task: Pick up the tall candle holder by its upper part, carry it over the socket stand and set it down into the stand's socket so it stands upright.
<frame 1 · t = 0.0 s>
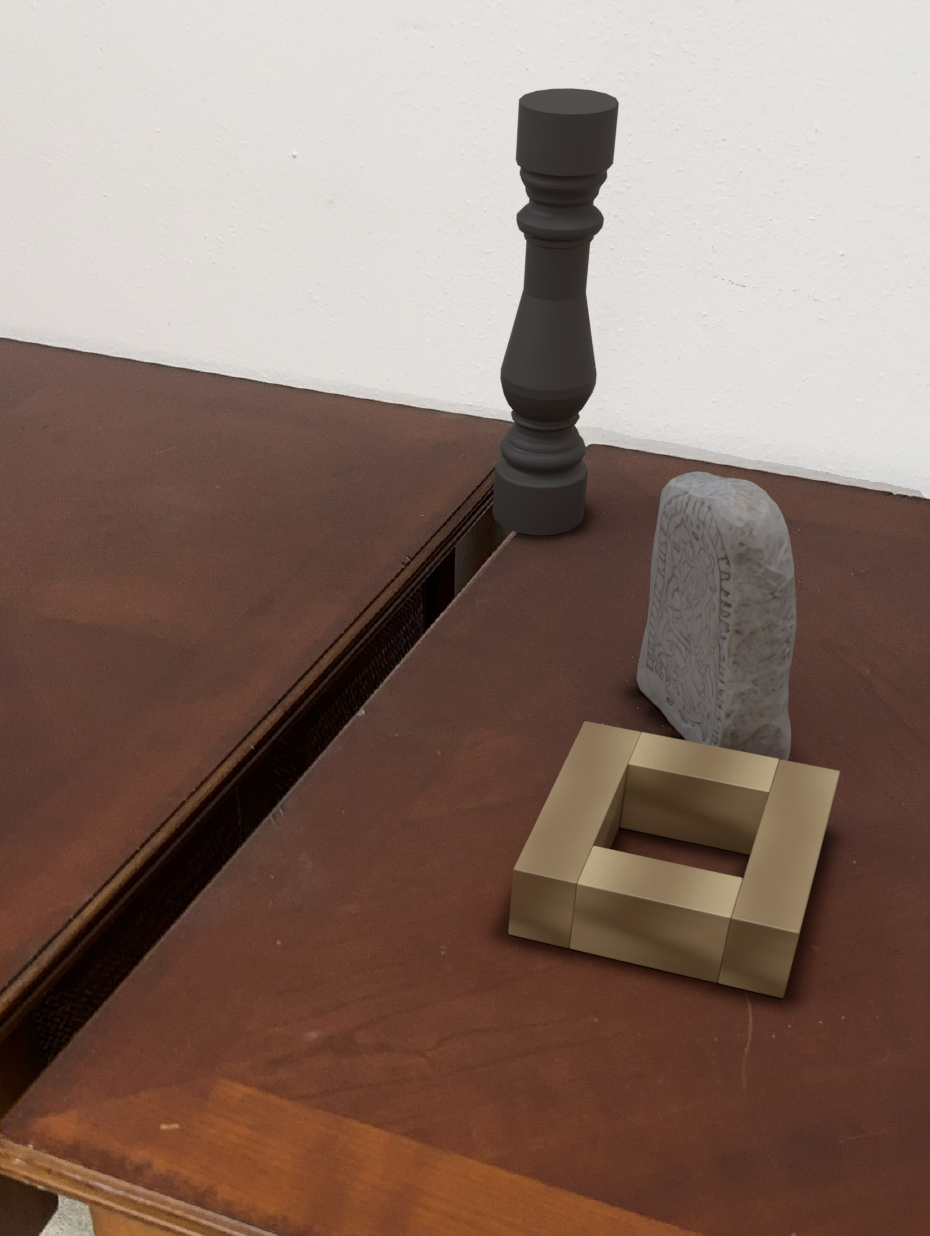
candle holder: (537, 516, 105), on the table
socket stand: (672, 883, 76), on the table
decorative stone: (704, 731, 86), on the table
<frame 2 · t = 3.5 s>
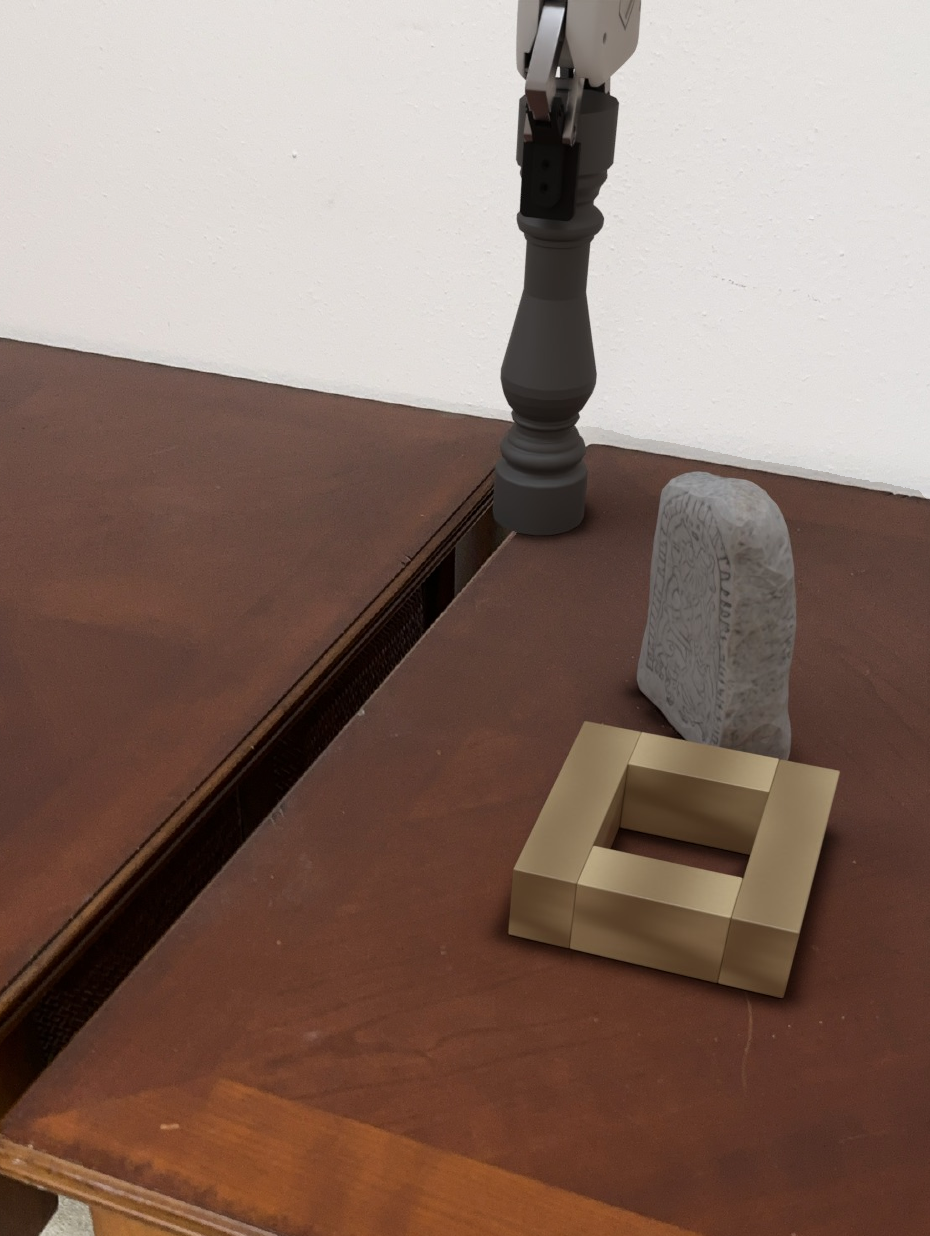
hand: (561, 197, 91), 20 cm above the table, tool pointing down, fingers closed on candle holder, 5 cm apart
candle holder: (537, 517, 105), on the table, touching gripper
everything else where it was.
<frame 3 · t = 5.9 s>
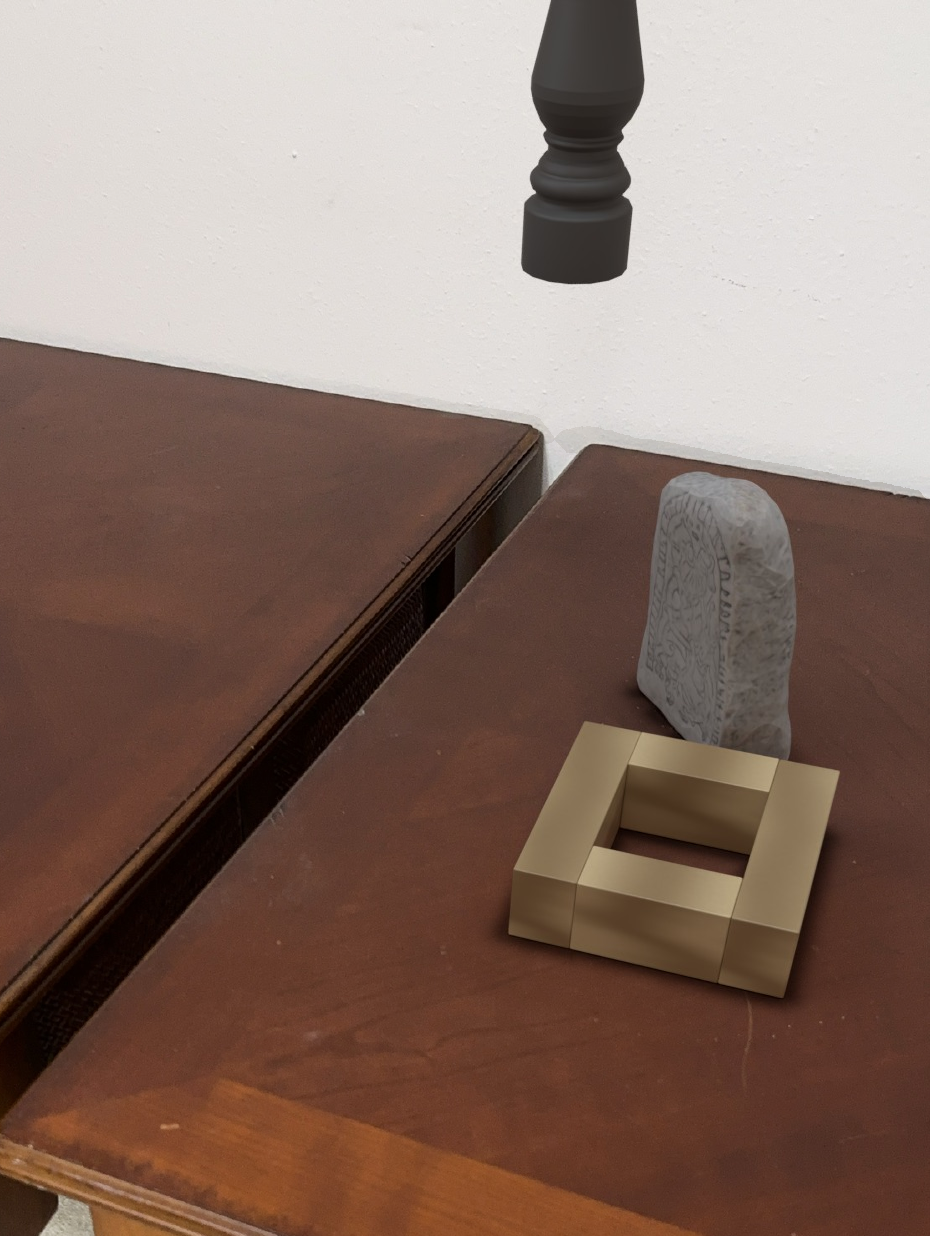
candle holder: (573, 269, 90), point 17 cm above the table, touching gripper
everything else where it was.
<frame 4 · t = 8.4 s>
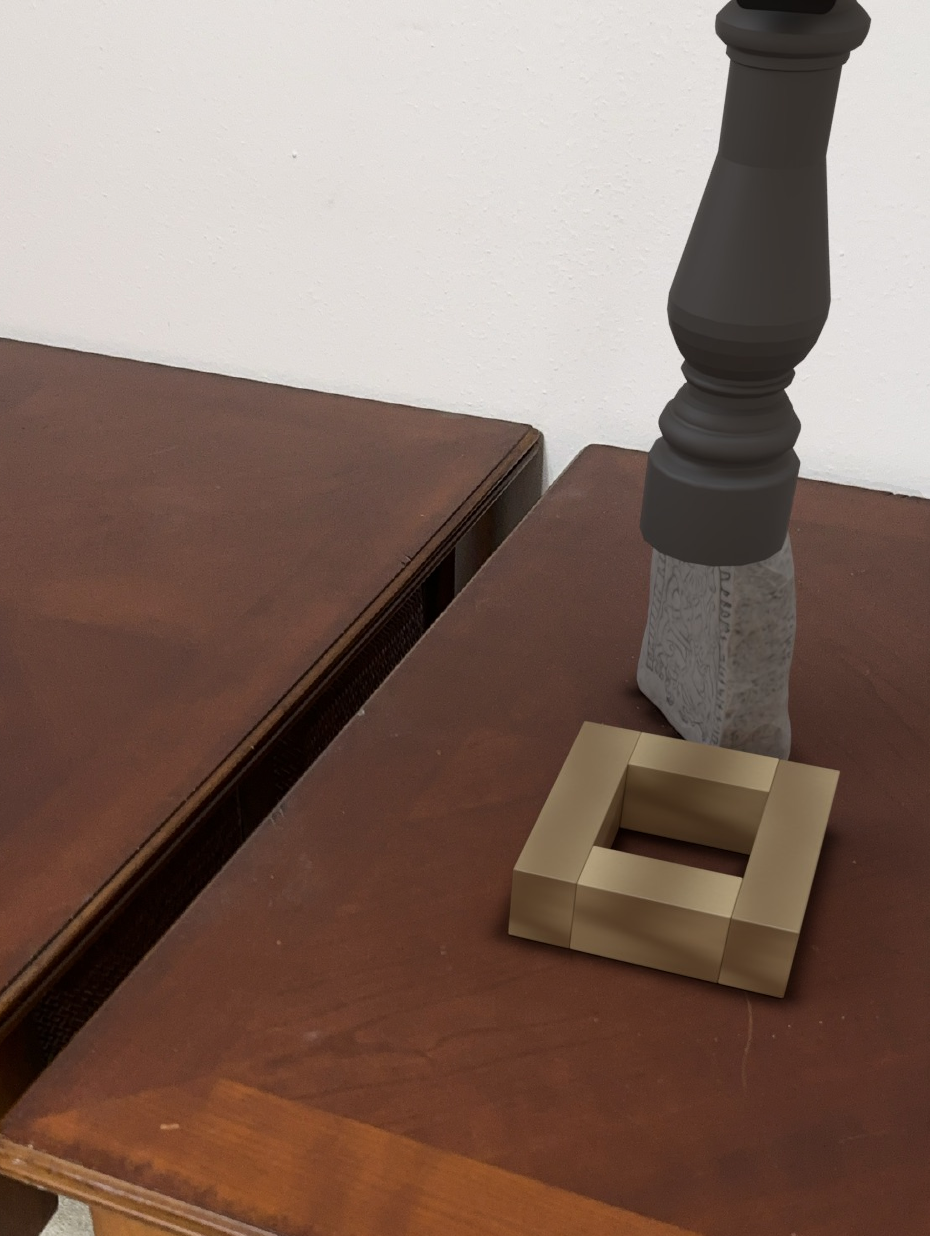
candle holder: (711, 536, 66), point 17 cm above the table, touching gripper
everything else where it was.
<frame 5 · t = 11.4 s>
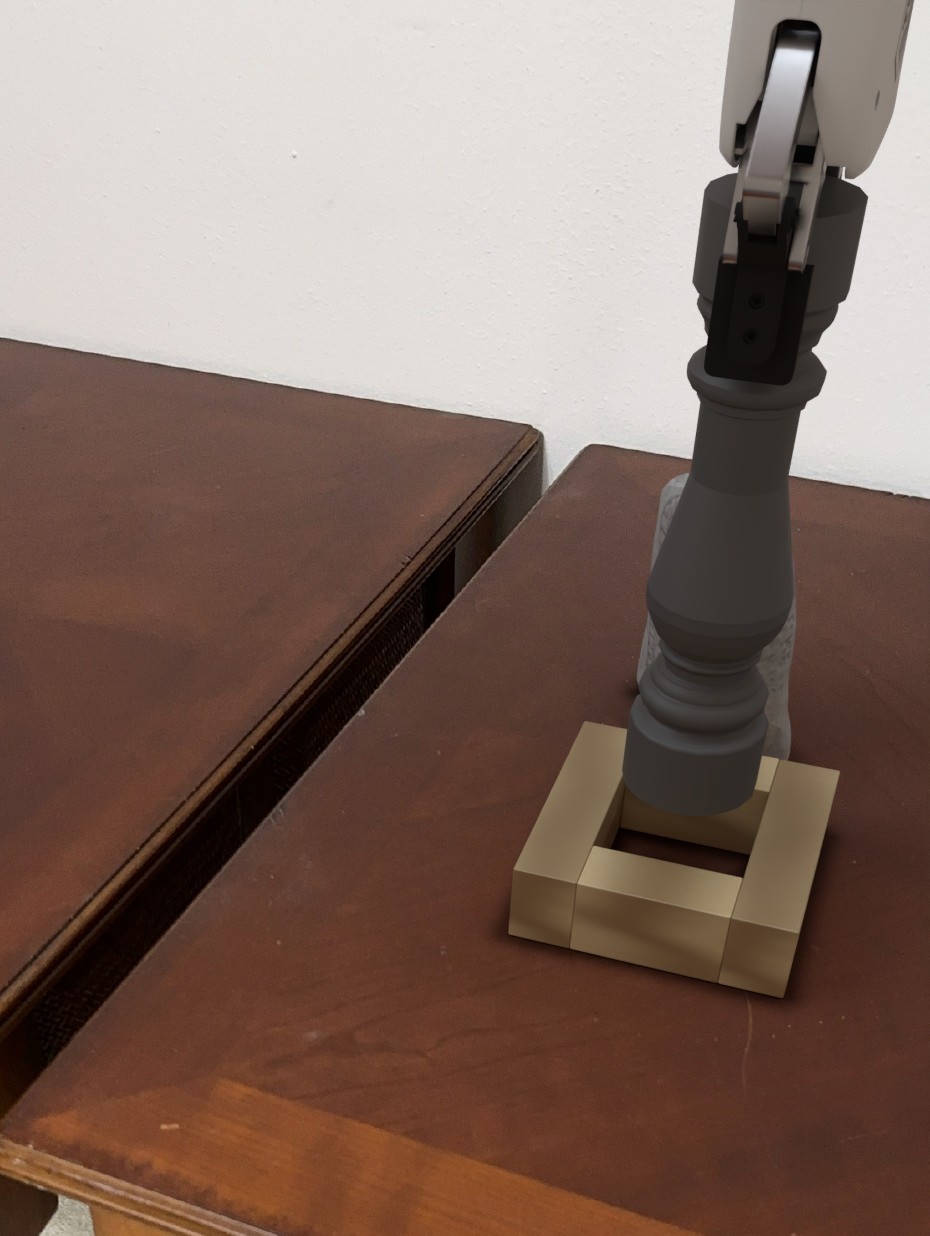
hand: (763, 341, 58), 26 cm above the table, tool pointing down, fingers closed on candle holder, 5 cm apart
candle holder: (688, 779, 71), point 6 cm above the table, touching gripper
everything else where it was.
when the fingers open (20 cm above the table, at t = 13.7 s): candle holder stays where it is, resting in socket stand.
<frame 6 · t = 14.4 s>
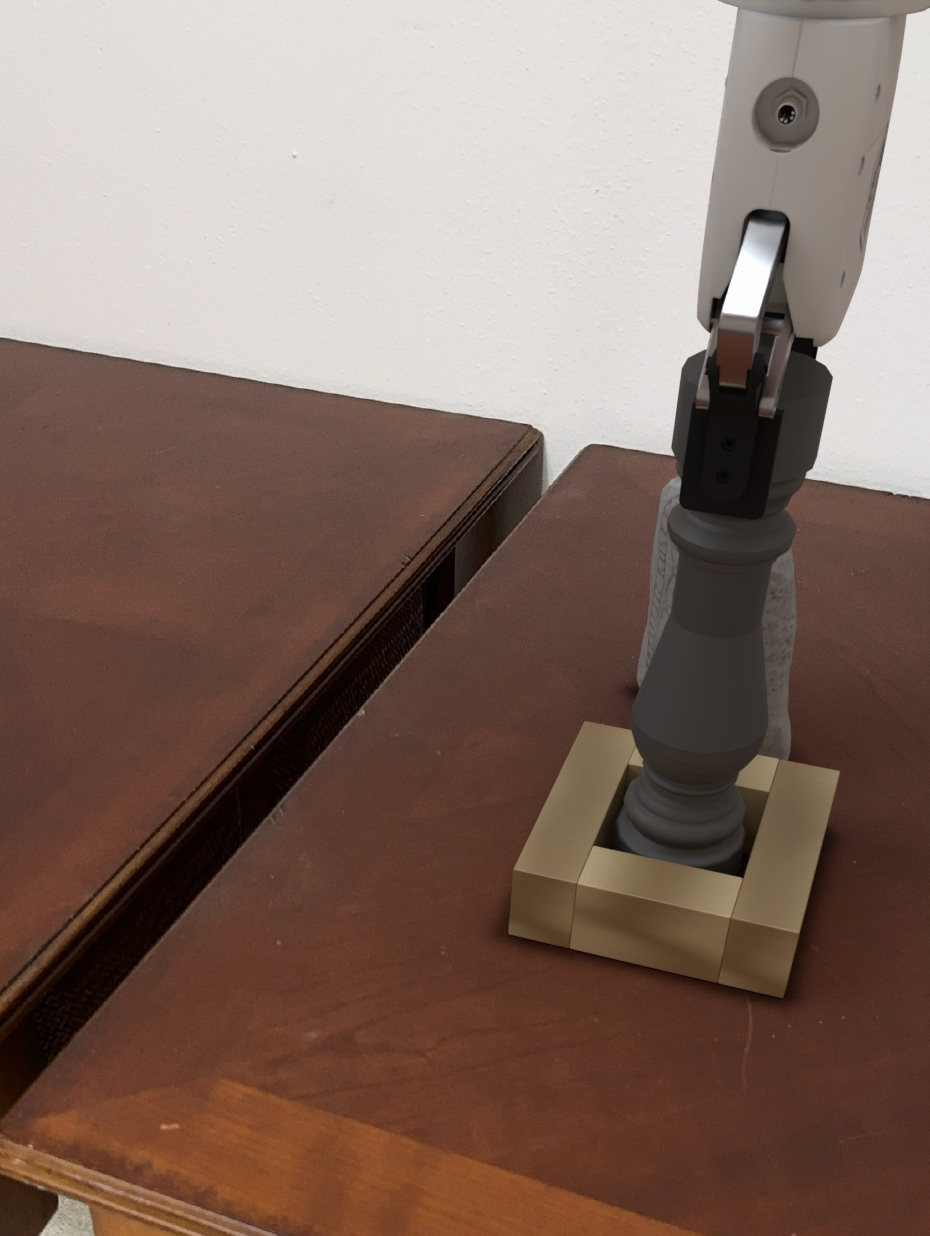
hand: (744, 458, 61), 22 cm above the table, tool pointing down, fingers open, 9 cm apart
candle holder: (671, 884, 76), resting in socket stand
everything else where it was.
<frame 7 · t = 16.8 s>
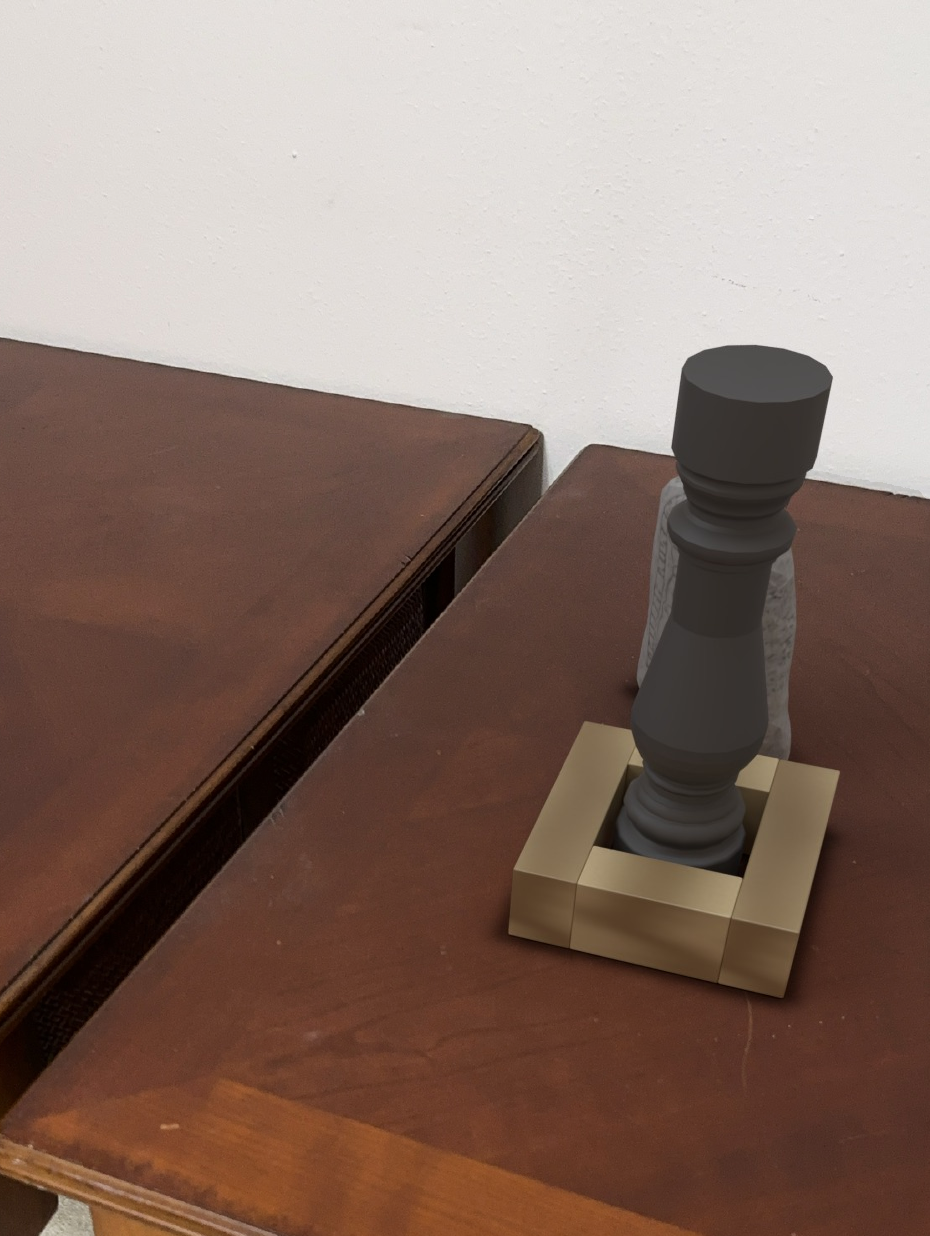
nothing on the table moved.
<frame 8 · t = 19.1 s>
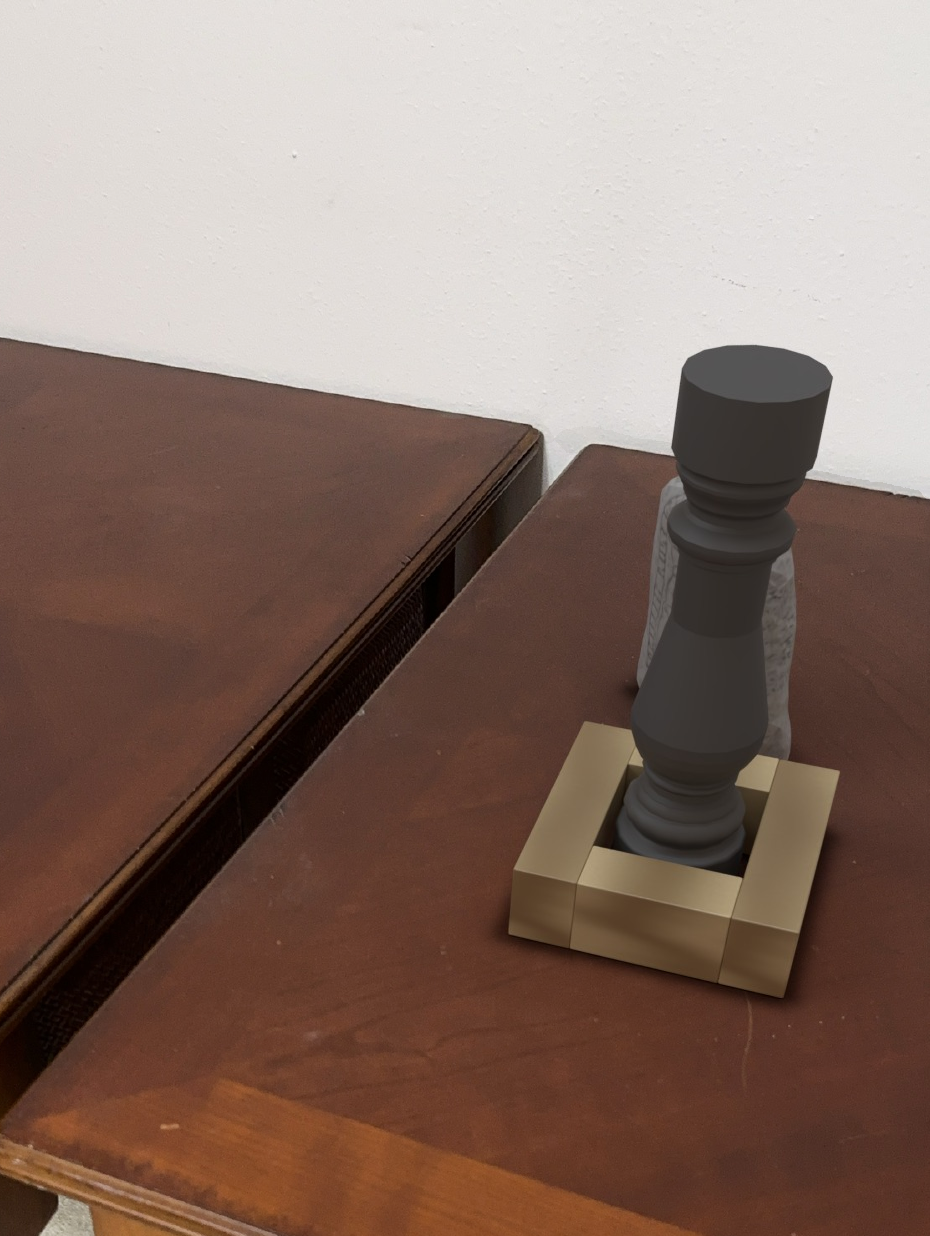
nothing on the table moved.
at the end: candle holder 0.1 cm off-centre in the socket stand, point 0.0 cm above the socket stand's base; candle holder tilted 0°; the gripper is holding nothing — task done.
